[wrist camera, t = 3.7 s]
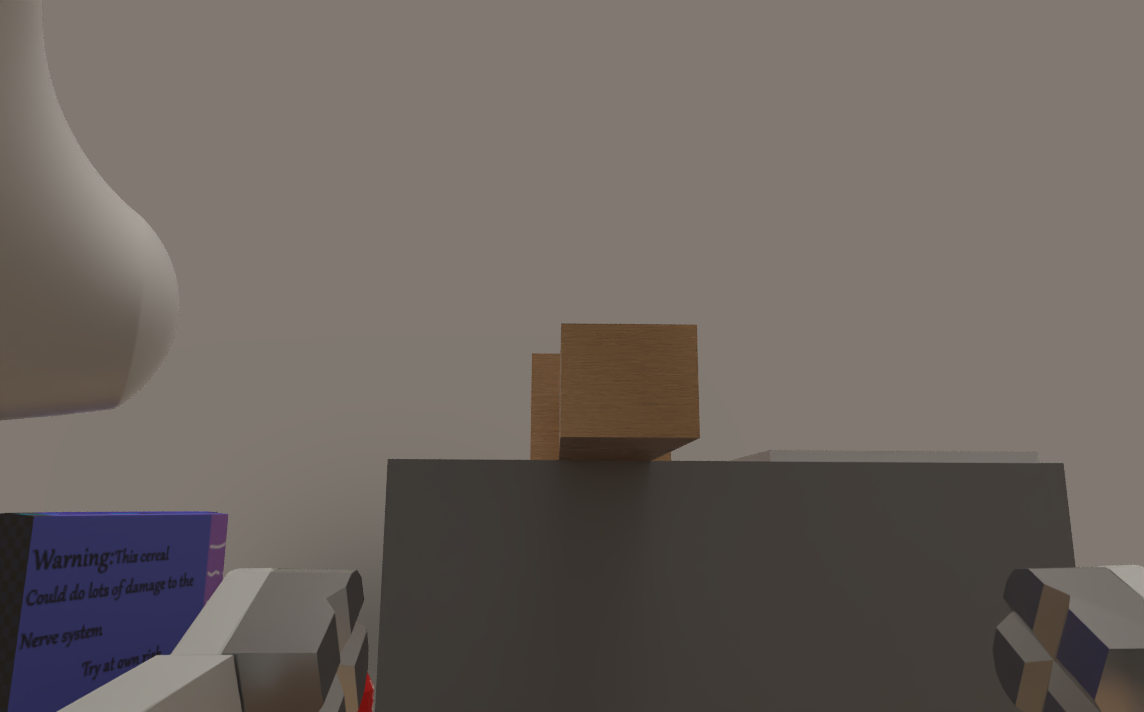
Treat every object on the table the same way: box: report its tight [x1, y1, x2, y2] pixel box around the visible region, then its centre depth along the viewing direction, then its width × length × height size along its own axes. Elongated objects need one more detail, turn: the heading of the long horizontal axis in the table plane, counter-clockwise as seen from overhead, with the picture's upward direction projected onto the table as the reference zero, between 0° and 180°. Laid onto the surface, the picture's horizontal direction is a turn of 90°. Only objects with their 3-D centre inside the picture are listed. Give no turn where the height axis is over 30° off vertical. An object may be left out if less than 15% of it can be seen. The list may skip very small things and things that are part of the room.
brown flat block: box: [530, 324, 700, 461], centre depth 25 cm, size 5×17×5 cm, turn 1°
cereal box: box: [0, 512, 228, 712], centre depth 57 cm, size 17×5×24 cm, turn 162°
